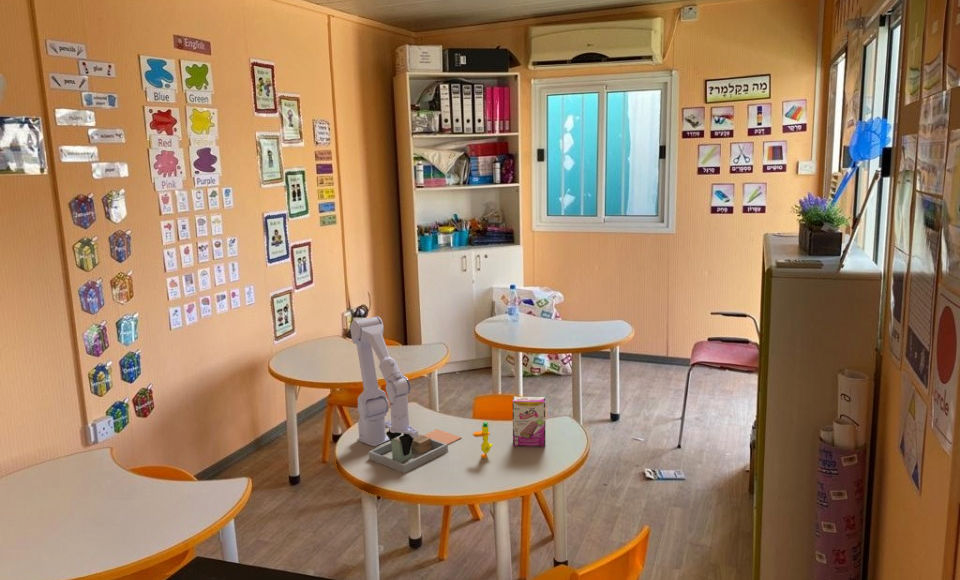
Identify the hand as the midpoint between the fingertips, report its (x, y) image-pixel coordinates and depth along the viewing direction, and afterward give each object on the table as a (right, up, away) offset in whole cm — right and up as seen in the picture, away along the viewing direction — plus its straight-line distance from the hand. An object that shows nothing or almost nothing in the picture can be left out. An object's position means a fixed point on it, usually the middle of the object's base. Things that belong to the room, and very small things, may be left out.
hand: (401, 452), depth 229 cm
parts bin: (+2, -1, +3) cm, 4 cm away
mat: (+12, +2, +15) cm, 19 cm away
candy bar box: (+43, +1, +8) cm, 43 cm away
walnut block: (+6, -1, +7) cm, 9 cm away
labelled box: (0, -2, 0) cm, 2 cm away
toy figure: (+27, -1, -1) cm, 27 cm away
